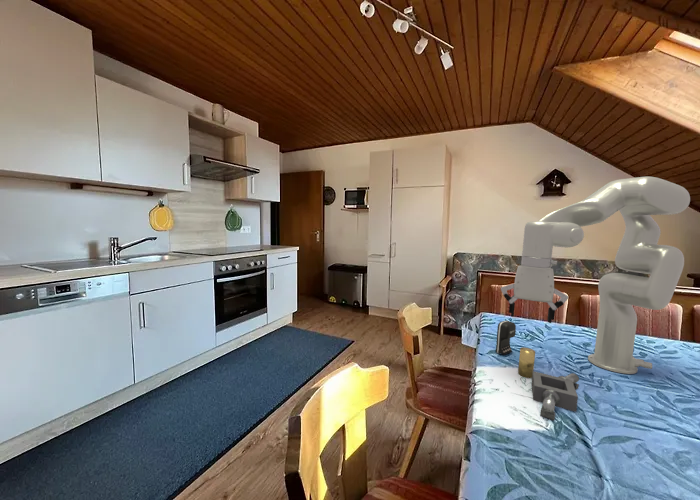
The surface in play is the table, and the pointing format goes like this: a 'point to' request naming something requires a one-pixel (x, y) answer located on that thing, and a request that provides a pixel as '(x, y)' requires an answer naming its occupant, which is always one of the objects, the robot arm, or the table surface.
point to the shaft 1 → (549, 403)
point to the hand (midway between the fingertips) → (530, 318)
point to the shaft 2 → (573, 378)
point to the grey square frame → (558, 385)
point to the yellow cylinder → (526, 362)
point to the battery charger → (505, 337)
